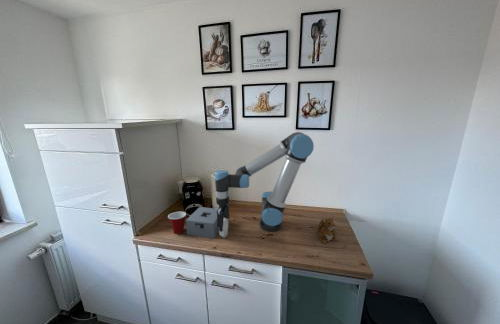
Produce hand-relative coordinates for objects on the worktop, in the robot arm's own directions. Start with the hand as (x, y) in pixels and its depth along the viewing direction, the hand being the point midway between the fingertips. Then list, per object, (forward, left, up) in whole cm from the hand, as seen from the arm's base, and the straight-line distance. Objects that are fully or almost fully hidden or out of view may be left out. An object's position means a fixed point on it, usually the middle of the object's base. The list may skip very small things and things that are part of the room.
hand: (224, 231), depth 122 cm
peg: (0, 0, -3) cm, 3 cm away
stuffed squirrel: (-60, -12, -3) cm, 61 cm away
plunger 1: (+14, +1, +3) cm, 14 cm away
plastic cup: (+30, +2, -3) cm, 30 cm away
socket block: (+14, -5, -3) cm, 15 cm away
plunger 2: (+14, -11, +3) cm, 18 cm away
